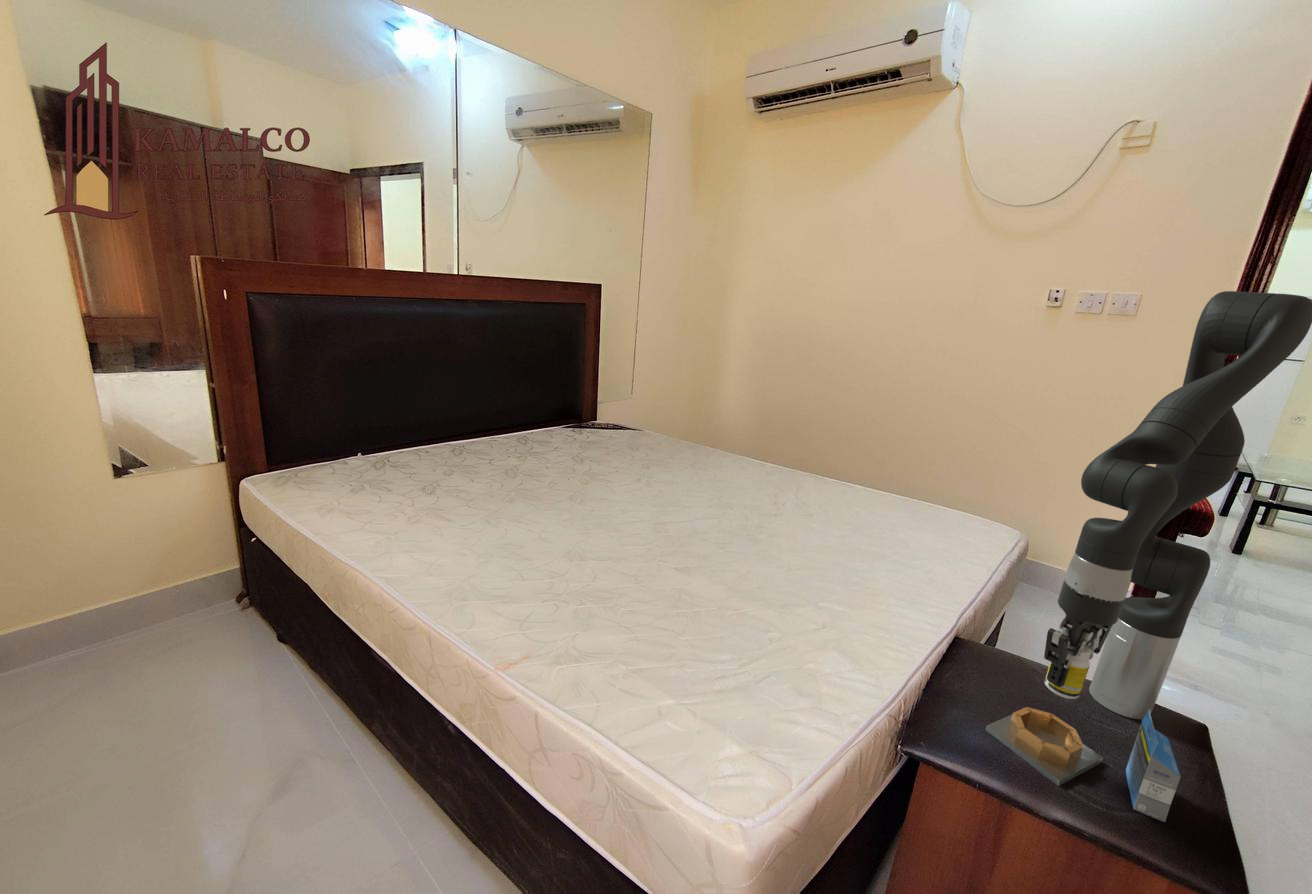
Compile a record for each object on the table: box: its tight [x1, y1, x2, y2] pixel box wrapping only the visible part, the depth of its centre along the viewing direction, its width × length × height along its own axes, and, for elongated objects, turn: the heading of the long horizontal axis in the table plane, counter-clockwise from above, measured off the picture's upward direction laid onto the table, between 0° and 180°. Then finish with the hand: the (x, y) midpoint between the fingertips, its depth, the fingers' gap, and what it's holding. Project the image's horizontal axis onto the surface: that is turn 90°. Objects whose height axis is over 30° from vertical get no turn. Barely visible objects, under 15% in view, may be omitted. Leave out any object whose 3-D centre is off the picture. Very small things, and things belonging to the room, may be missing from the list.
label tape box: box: [1125, 709, 1181, 823], centre depth 83 cm, size 9×4×12 cm, turn 146°
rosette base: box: [985, 706, 1104, 787], centre depth 92 cm, size 12×12×4 cm
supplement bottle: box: [1044, 644, 1091, 700], centre depth 88 cm, size 5×5×8 cm
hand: (1064, 679), depth 89 cm, fingers closed on supplement bottle, 4 cm apart
